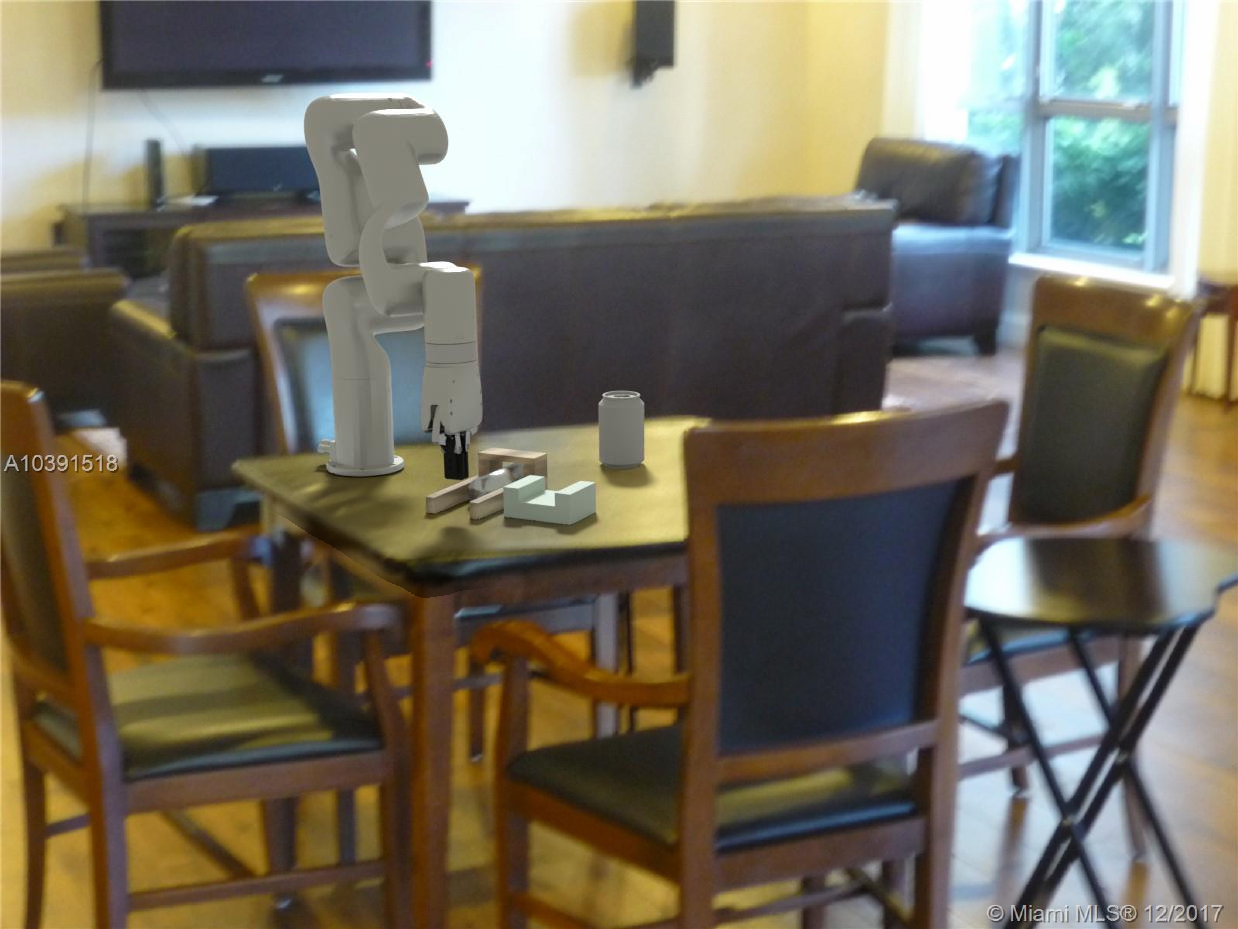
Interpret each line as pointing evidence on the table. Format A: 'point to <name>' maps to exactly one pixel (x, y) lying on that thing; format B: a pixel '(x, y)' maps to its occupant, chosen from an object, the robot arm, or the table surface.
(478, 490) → the axle
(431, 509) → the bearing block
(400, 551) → the table surface
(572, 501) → the v block
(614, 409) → the can
